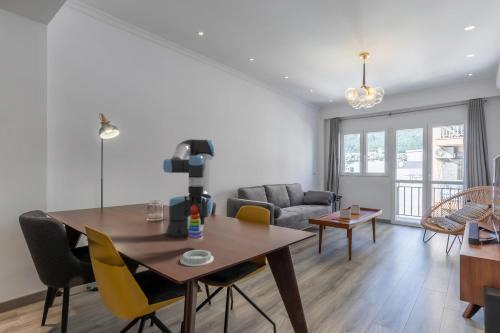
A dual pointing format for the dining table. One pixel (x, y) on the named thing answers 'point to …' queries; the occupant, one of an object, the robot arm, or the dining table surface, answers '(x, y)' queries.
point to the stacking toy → (194, 226)
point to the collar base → (196, 258)
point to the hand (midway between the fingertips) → (195, 229)
